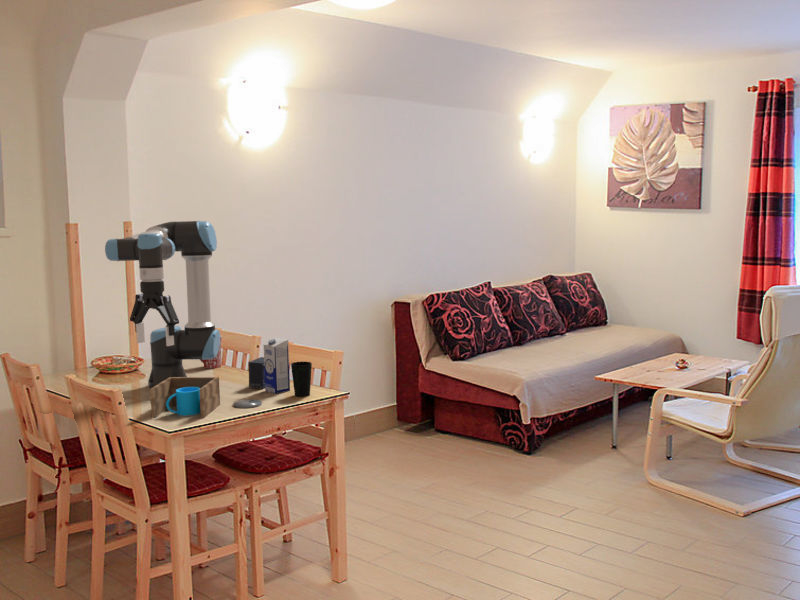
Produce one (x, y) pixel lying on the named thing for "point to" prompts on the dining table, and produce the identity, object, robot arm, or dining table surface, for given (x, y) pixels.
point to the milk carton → (276, 365)
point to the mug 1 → (186, 401)
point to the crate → (170, 385)
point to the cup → (301, 378)
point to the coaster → (247, 403)
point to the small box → (257, 373)
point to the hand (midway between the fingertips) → (155, 344)
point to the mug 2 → (215, 361)
